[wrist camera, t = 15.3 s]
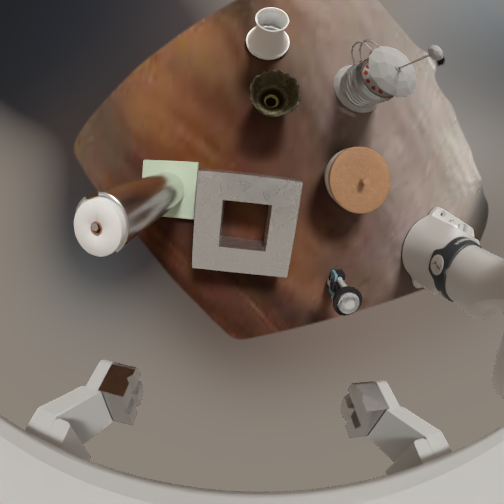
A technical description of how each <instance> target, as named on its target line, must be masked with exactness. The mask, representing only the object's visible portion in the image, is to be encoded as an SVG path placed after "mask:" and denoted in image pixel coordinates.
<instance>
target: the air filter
mask: <svg viewBox="0 0 504 504" xmlns="http://www.w3.org/2000/svg"><path fill="white" fill-rule="evenodd" d="M183 195H184V186H183V183H182V181H181V180H180V178H179V177H178V176H177V175H175V174H173V173H170V172H163V173H160V174H156V175H152V176H148V177H144V178H141V179H137V180H133V181H130V182H126V183H123V184H119V185H116V186H112V187H109V188H106V189H102V190H99V191H98V192H95V193H92V194H89V195H86V196H84V198H83V199H82V200H81V201H80V202H79V204H78V206H77V208H76V212H75V219H74V230H75V235H76V238H77V240H78V242H79V243H80V245H81V246H82V247H83V249H85V250H86V251H87V252H88V253H90V254H92V255H95V256H99V257H100V256H101V257H102V256H107V255H109V254H112V253H113V252H114V251H116V252H118V251H119V250H121V249H122V248H123V247H124V246H125V245H127V244H128V243H129V242H130V241H132V240H133V239H134V238H135V237H136V236H138V235H139V234H140V233H141V232H143V231H144V230H145V229H146V228H148V227H149V226H150V225H151V224H153V223H154V222H155V221H157V220H158V219H159V218H160V217H162V216H163V215H164V214H166V213H167V212H168V211H170V210H171V209H172V208H174V207H175V206H176V205H177V204H179V203H180V201H181V200H182V198H183Z"/></svg>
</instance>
